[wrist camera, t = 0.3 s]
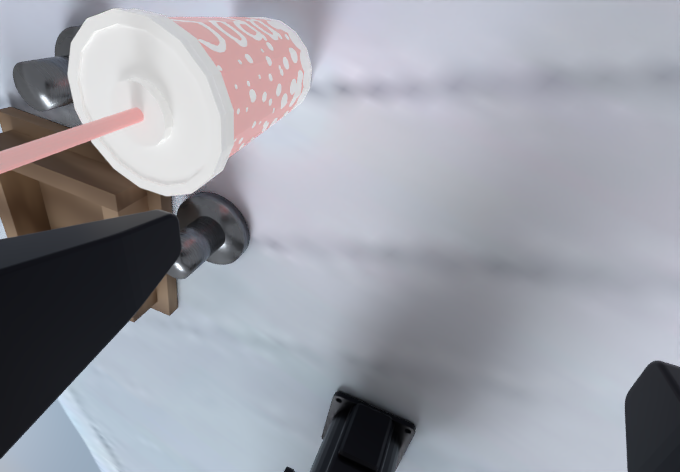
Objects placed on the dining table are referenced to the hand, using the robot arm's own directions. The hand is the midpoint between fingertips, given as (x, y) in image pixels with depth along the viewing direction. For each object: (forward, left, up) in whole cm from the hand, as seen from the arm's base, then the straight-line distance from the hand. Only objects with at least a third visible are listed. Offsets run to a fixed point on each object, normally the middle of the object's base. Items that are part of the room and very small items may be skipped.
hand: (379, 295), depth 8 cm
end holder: (-15, +23, -14) cm, 30 cm away
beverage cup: (-1, +10, -14) cm, 17 cm away
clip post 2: (-12, +13, -14) cm, 22 cm away
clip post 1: (-4, +21, -14) cm, 25 cm away
